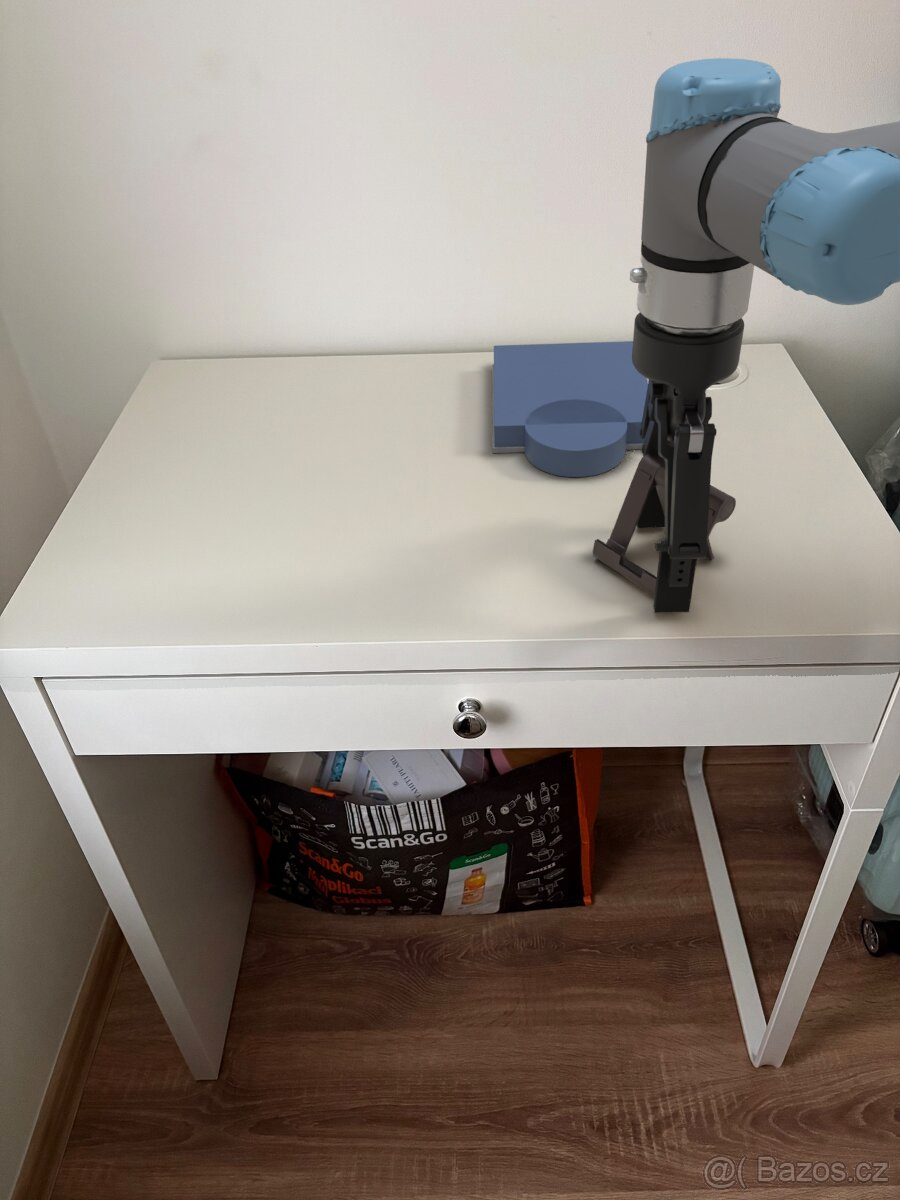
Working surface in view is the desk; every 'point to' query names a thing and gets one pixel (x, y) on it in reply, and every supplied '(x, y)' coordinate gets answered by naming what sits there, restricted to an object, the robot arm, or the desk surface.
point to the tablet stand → (643, 481)
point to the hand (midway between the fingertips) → (661, 565)
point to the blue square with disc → (567, 405)
